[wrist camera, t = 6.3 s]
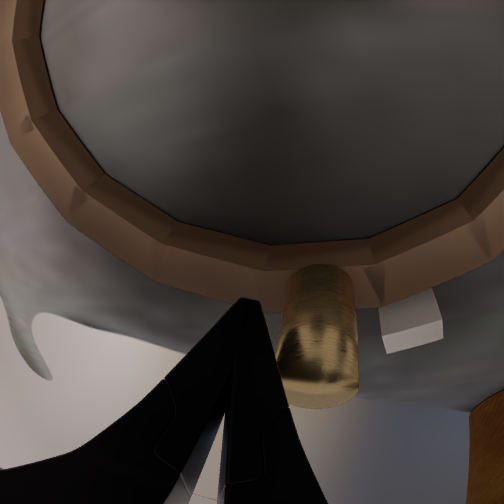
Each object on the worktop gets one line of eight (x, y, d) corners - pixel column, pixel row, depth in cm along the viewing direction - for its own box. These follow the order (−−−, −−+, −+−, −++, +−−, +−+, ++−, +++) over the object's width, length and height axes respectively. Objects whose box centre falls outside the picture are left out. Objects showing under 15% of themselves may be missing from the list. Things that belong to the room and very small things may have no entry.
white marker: (375, 291, 12) (381, 336, 10) (427, 275, 11) (442, 319, 9) (381, 310, 13) (386, 354, 11) (430, 295, 12) (443, 338, 10)
